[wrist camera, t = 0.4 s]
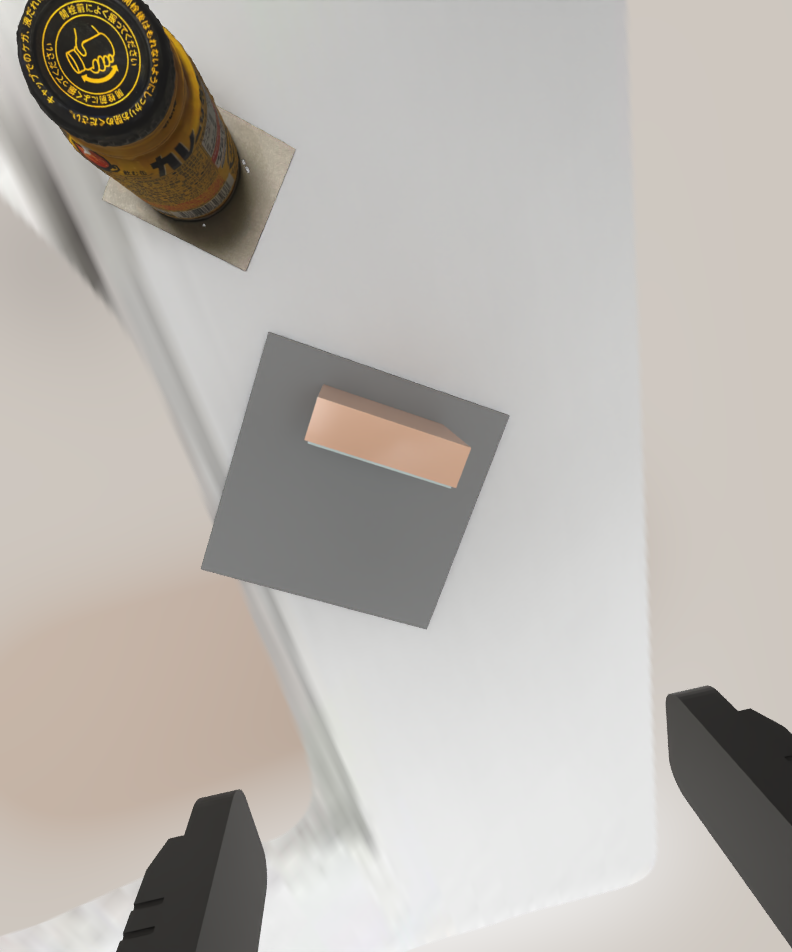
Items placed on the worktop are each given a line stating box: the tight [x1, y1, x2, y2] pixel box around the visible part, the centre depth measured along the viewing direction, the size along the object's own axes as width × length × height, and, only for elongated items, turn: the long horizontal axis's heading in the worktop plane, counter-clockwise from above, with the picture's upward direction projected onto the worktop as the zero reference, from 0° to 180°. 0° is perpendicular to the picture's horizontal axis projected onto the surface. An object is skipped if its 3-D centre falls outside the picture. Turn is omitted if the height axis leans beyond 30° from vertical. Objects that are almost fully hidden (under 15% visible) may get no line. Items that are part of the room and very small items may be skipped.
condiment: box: [16, 0, 295, 271], centre depth 25 cm, size 7×8×12 cm
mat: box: [201, 332, 509, 629], centre depth 36 cm, size 16×16×1 cm
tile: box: [304, 384, 471, 489], centre depth 31 cm, size 2×8×8 cm, turn 71°
